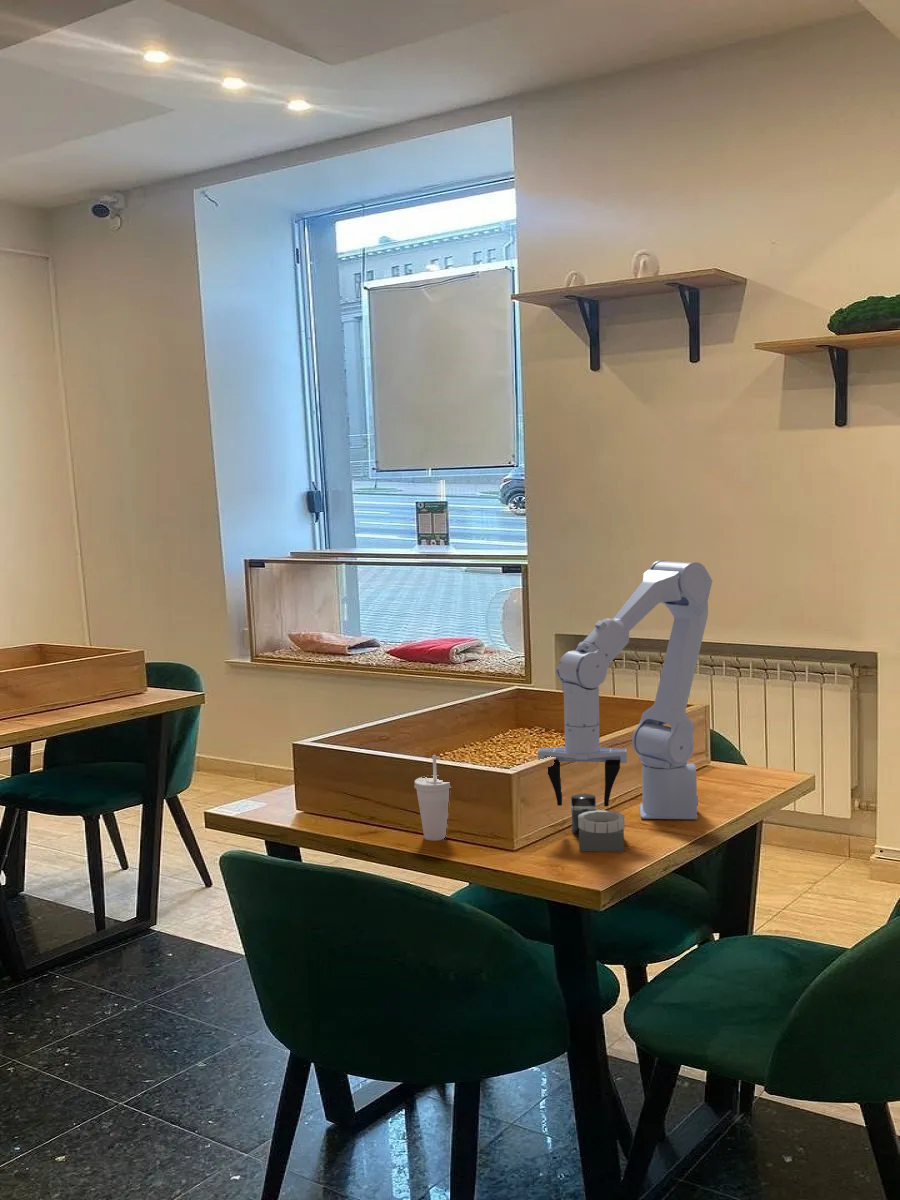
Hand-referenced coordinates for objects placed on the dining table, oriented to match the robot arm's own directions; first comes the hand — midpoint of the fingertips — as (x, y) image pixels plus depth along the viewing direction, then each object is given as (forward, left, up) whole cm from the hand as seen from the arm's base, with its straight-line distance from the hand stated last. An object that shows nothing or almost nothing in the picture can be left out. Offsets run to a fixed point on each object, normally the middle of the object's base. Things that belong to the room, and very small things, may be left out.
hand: (583, 804), depth 187 cm
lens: (0, 0, -5) cm, 5 cm away
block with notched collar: (-3, +6, -5) cm, 8 cm away
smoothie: (+24, +4, -5) cm, 25 cm away
